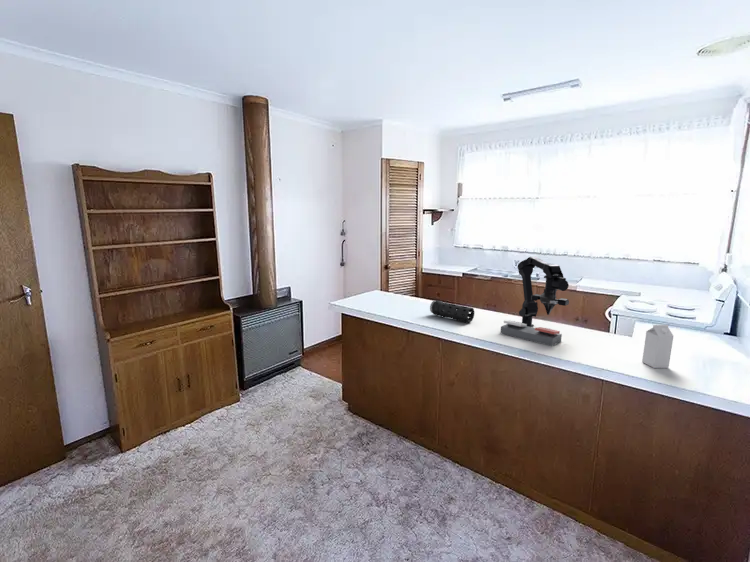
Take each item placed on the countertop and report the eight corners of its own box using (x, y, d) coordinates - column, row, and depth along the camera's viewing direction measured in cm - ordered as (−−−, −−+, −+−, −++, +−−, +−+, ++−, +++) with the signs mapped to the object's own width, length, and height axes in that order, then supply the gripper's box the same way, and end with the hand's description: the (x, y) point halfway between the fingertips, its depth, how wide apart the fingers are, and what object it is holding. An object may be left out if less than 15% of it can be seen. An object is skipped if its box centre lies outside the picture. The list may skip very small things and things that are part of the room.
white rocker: (509, 322, 226) (510, 320, 226) (526, 326, 219) (526, 324, 219) (503, 322, 220) (503, 320, 220) (520, 326, 213) (520, 324, 213)
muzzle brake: (466, 325, 236) (467, 308, 234) (428, 316, 255) (429, 301, 253) (474, 322, 243) (475, 306, 241) (437, 313, 261) (437, 298, 260)
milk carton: (641, 362, 179) (647, 322, 176) (656, 362, 180) (661, 322, 177) (653, 368, 172) (660, 327, 169) (668, 368, 173) (675, 327, 170)
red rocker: (540, 329, 213) (541, 327, 213) (559, 333, 206) (559, 331, 206) (534, 329, 208) (535, 327, 207) (553, 334, 200) (554, 331, 200)
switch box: (510, 329, 228) (510, 321, 228) (561, 340, 208) (561, 332, 207) (500, 333, 220) (500, 325, 219) (552, 346, 200) (553, 337, 199)
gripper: (527, 286, 214) (525, 314, 216) (562, 291, 201) (560, 320, 203) (536, 284, 221) (534, 310, 224) (570, 289, 208) (567, 317, 211)
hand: (548, 314), depth 215 cm, fingers closed
